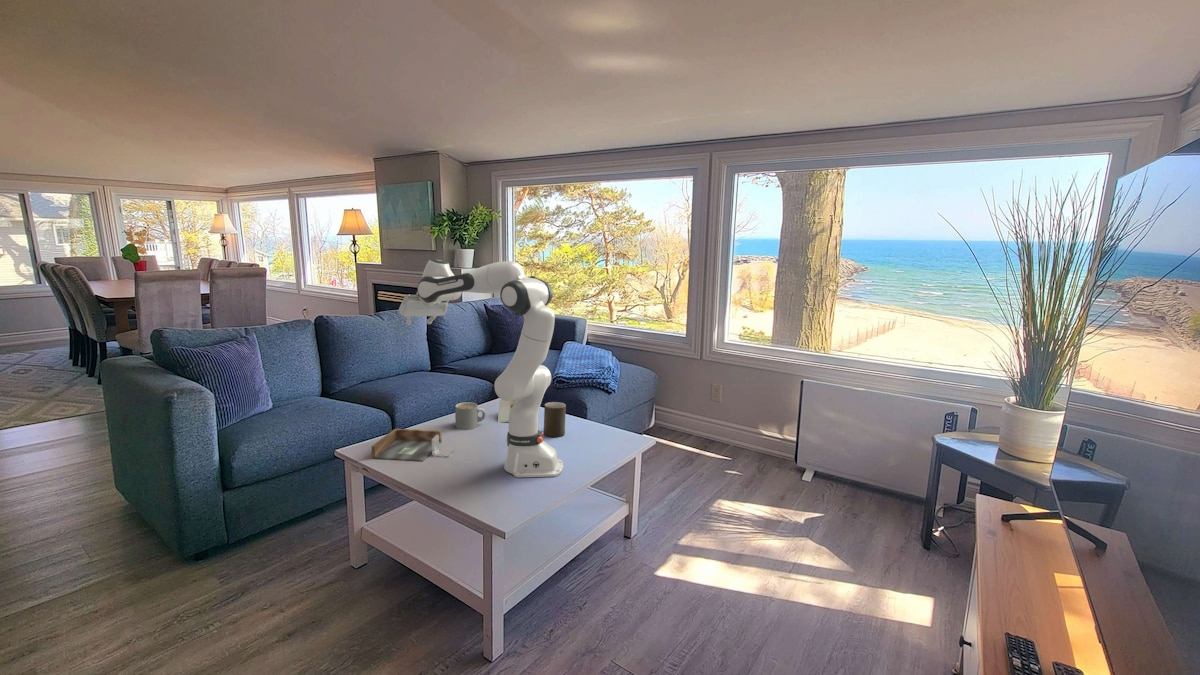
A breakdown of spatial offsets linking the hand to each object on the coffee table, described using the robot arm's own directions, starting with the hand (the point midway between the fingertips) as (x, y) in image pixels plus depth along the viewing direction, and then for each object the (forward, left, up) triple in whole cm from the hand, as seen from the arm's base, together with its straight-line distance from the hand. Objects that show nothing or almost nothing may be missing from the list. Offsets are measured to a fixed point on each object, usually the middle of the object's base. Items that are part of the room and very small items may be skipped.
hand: (418, 323), depth 209 cm
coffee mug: (-17, -16, -50) cm, 55 cm away
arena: (-1, +15, -50) cm, 52 cm away
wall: (-34, -30, -50) cm, 68 cm away
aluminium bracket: (-16, +17, -50) cm, 55 cm away
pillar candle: (-57, -12, -50) cm, 77 cm away
